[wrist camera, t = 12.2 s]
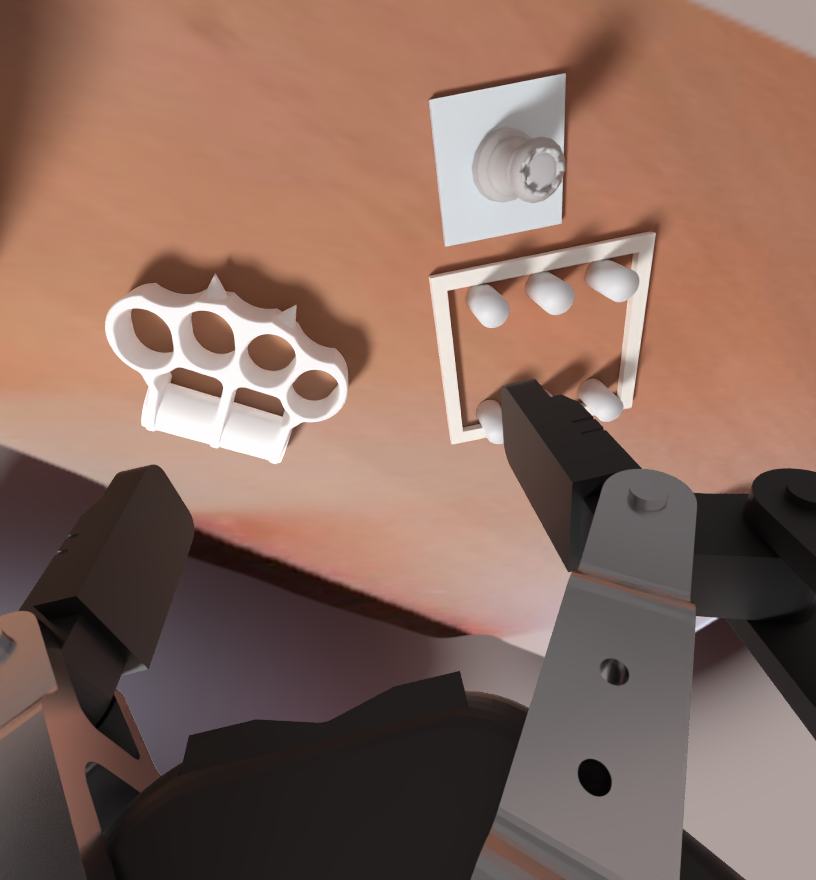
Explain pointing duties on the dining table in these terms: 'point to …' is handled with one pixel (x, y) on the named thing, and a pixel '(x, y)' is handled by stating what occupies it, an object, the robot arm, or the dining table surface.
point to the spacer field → (555, 301)
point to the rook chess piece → (517, 166)
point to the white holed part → (223, 370)
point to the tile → (459, 136)
